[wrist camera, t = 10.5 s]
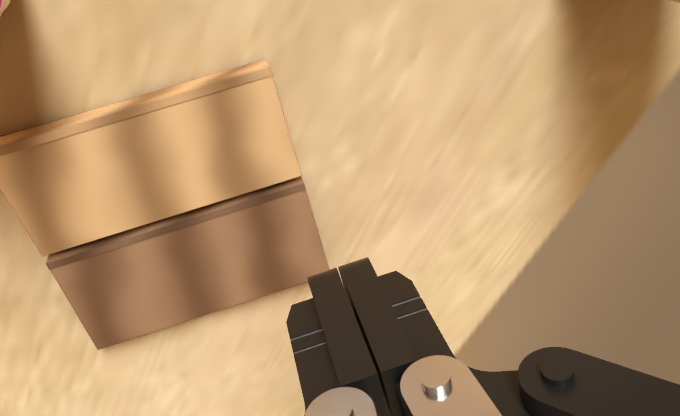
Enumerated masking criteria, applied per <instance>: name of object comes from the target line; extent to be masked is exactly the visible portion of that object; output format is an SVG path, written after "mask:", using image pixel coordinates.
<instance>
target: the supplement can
mask: <svg viewBox="0 0 680 416" xmlns="http://www.w3.org/2000/svg"><path fill="white" fill-rule="evenodd" d="M9 4H10V0H0V16H1V15H2V13H3V12H4V11H5V9H6V8H7V6H8V5H9Z"/></svg>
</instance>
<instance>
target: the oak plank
mask: <svg viewBox="0 0 680 416" xmlns="http://www.w3.org/2000/svg"><path fill="white" fill-rule="evenodd" d="M299 176H301V173H300V169H299V166H298V162H297V159H296V156H295V152H294V149H293V145H292V142H291V139H290V135H289V132H288V128H287V125H286V122H285V118H284V115H283V111H282V108H281V105H280V101H279V98H278V94H277V91H276V88H275V84H274V81H273V77H272V74H271V70H270V67H269V64H268V62H267V60H266V59H264V60H260V61H257V62H253V63H250V64H247V65H243V66H240V67H236V68H233V69H230V70H226V71H223V72H220V73H216V74H213V75H209V76H206V77H203V78H199V79H196V80H192V81H189V82H186V83H182V84H179V85H175V86H172V87H169V88H165V89H162V90H158V91H155V92H152V93H148V94H145V95H141V96H138V97H135V98H131V99H128V100H124V101H121V102H118V103H114V104H111V105H107V106H104V107H101V108H97V109H94V110H90V111H87V112H84V113H80V114H77V115H73V116H70V117H67V118H63V119H60V120H56V121H53V122H50V123H46V124H43V125H40V126H36V127H33V128H29V129H26V130H23V131H19V132H16V133H12V134H9V135H6V136H2V137H0V190H1V191H2V193H3V194H4V196H5V198H6V199H7V201H8V202H9V204H10V205H11V207H12V209H13V210H14V212H15V213H16V215H17V217H18V218H19V220H20V221H21V223H22V225H23V226H24V228H25V229H26V231H27V233H28V234H29V236H30V237H31V239H32V240H33V242H34V244H35V245H36V247H37V248H38V250H39V252H40V253H41V255H42V256H46V255H49V254H52V253H55V252H58V251H62V250H65V249H68V248H71V247H74V246H78V245H81V244H84V243H87V242H91V241H94V240H97V239H100V238H103V237H107V236H110V235H113V234H116V233H119V232H123V231H126V230H129V229H132V228H135V227H139V226H142V225H145V224H148V223H152V222H155V221H158V220H161V219H164V218H168V217H171V216H174V215H177V214H180V213H184V212H187V211H190V210H193V209H196V208H200V207H203V206H206V205H209V204H212V203H216V202H219V201H222V200H225V199H229V198H232V197H235V196H238V195H241V194H245V193H248V192H251V191H254V190H257V189H261V188H264V187H267V186H270V185H273V184H277V183H280V182H283V181H286V180H290V179H293V178H296V177H299Z"/></svg>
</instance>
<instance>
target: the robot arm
mask: <svg viewBox="0 0 680 416" xmlns="http://www.w3.org/2000/svg"><path fill="white" fill-rule="evenodd" d="M670 1H674V2H678V3H680V0H670ZM339 271H340V275H341V278H340V276H339V273H338V271H337V268H334V269H331V270H328V271H325V272H322V273H319V274H315V275H312V276H309V277H307V279H308V282H309V285H310V289H311V292H312V295H313V298H312V299H309V300H306V301H303V302H300V303H297V304H294V305H292V306H291V309H290V312H289V316H288V319H287V322H286V323H287V327H288V332H289V336H290V340H291V345H292V349H293V353H294V358H295V362H296V367H297V371H298V375H299V380H300V384H301V389H302V393H303V397H304V402H305V415H304V416H680V385H678V384H675V383H672V382H669V381H666V380H663V379H660V378H657V377H654V376H651V375H648V374H644V373H642V372H639V371H636V370H632V369H629V368H626V367H623V366H620V365H617V364H614V363H611V362H608V361H605V360H602V359H599V358H596V357H592V356H590V355H587V354H583V353H580V352H577V351H574V350H571V349H567V348H561V347H548V348H543V349H539V350H537V351H534V352H532V353H531V354H529V355H528V356H527V357H525V358H524V360H523V361H522V362H521V364H520V366H519V369H518V371H501V372H486V371H480V370H475V369H473V368H470V367H468V366H466V365H465V364H464V363H463V362H461V361H460V360H458V359H457V358H456V357H455V356H454V355H453V353H452V352H451V350H450V348H449V347H448V345H447V343H446V341H445V339H444V338H443V336H442V334H441V332H440V330H439V329H438V327H437V325H436V323H435V322H434V320H433V318H432V316H431V314H430V313H429V311H428V310H427V308H426V306H425V304H424V302H423V300H422V298H420V295H419V293H418V291H417V290H416V288H415V286H414V284H413V282H412V281H411V280H410V279H408V278H406V277H405V276H403V275H402V274H400V273H399V272H397V271H394V272H391V273H388V274H385V275H382V276H378V277H377V275H376V273H375V271H374V269H373V266H372V264H371V262H370V260H369V259H368V257H367V258H364V259H361V260H358V261H355V262H352V263H349V264H346V265H343V266H340V267H339ZM341 279H342V281H341ZM342 282H343V284H342Z"/></svg>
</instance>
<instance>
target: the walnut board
mask: <svg viewBox="0 0 680 416" xmlns="http://www.w3.org/2000/svg"><path fill="white" fill-rule="evenodd" d="M46 265H47V267H48V268H49V270H51V272H52V274H53V275H54V277H55V279H56V280H57V282H58V284H59V286H60V287H61V289H62V291H63V292H64V294H65V296H66V297H67V299H68V301H69V302H70V304H71V306H72V307H73V309H74V311H75V312H76V314H77V316H78V318H79V319H80V321H81V323H82V324H83V326H84V328H85V329H86V331H87V333H88V334H89V336H90V338H91V339H92V341H93V343H94V344H95V346H96V348H97V350H99V349H102V348H105V347H108V346H111V345H114V344H117V343H120V342H123V341H126V340H129V339H132V338H135V337H139V336H142V335H145V334H148V333H151V332H154V331H157V330H160V329H163V328H166V327H169V326H172V325H175V324H178V323H181V322H185V321H188V320H191V319H194V318H197V317H200V316H203V315H206V314H209V313H212V312H215V311H218V310H221V309H224V308H227V307H231V306H234V305H237V304H240V303H243V302H246V301H249V300H252V299H255V298H258V297H261V296H264V295H267V294H270V293H274V292H277V291H280V290H283V289H286V288H289V287H292V286H295V285H298V284H301V283H304V282H307V281H308V279H307V277H309V276H312V275H315V274H319V273H322V272H325V271H328V270H329V267H328V264H327V260H326V257H325V254H324V250H323V247H322V243H321V240H320V237H319V233H318V230H317V227H316V223H315V220H314V216H313V213H312V210H311V206H310V203H309V200H308V196H307V193H306V190H305V186H304V183H303V180H302V178H301V176H299V177H296V178H293V179H290V180H286V181H283V182H280V183H277V184H273V185H270V186H267V187H264V188H261V189H257V190H254V191H251V192H248V193H245V194H241V195H238V196H235V197H232V198H229V199H225V200H222V201H219V202H216V203H212V204H209V205H206V206H203V207H200V208H196V209H193V210H190V211H187V212H184V213H180V214H177V215H174V216H171V217H168V218H164V219H161V220H158V221H155V222H152V223H148V224H145V225H142V226H139V227H135V228H132V229H129V230H126V231H123V232H119V233H116V234H113V235H110V236H107V237H103V238H100V239H97V240H94V241H91V242H87V243H84V244H81V245H78V246H74V247H71V248H68V249H65V250H62V251H58V252H55V253H52V254H49V257H48V260H47V262H46Z"/></svg>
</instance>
